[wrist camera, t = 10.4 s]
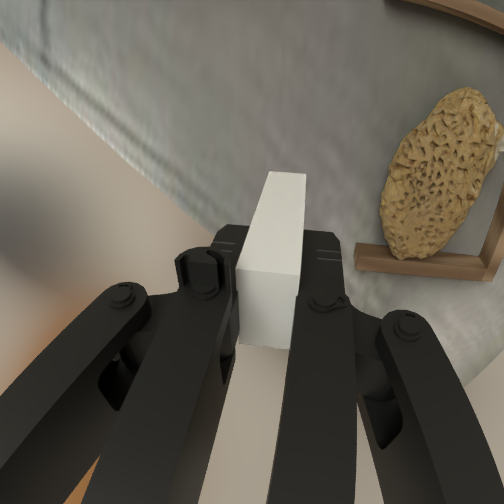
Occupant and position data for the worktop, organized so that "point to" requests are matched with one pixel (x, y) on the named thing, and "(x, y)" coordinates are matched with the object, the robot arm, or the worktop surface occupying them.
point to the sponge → (439, 174)
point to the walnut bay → (500, 233)
